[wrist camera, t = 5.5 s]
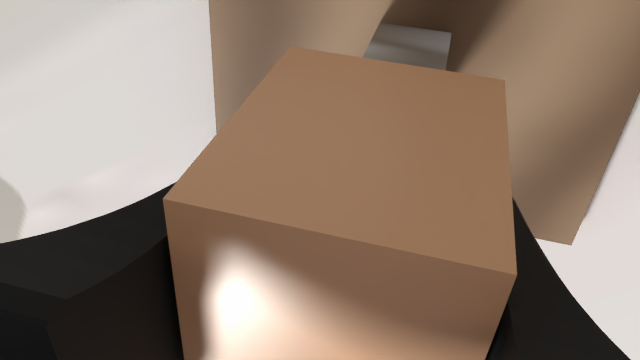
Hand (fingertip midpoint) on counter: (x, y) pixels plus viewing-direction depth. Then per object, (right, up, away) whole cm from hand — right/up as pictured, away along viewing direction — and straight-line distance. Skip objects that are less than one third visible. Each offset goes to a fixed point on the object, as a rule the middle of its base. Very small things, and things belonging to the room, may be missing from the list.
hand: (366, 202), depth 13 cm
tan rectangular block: (+1, +1, +1) cm, 2 cm away
